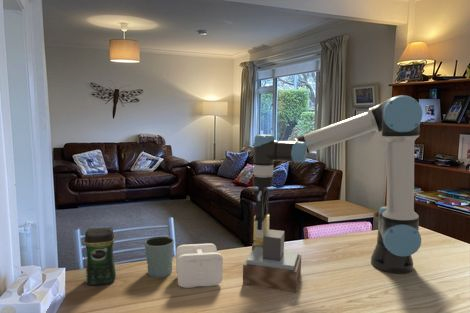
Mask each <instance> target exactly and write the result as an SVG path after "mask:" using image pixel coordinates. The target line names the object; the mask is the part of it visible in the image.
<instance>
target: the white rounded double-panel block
mask: <svg viewBox="0 0 470 313" xmlns="http://www.w3.org/2000/svg"><path fill="white" fill-rule="evenodd" d="M217 251H218V250H217V246H216V245H215V244H214V243H193V244H191V243H190V244H180V245H179V246H177V247H176V250H175V252H176V253H175V258H176V259H175V260H176V262H175V267H176V268H175V273H176V275H177V285H178V286H180V287H181V288H185V289H189V288H190V289H191V288H195V287H196V288H197V287H207V288H208V287H214V286H217V285H220V284H221V283H222V282H223V264H224V260H223V259H224V258H223V255H222V254H221V253H220V252H217Z"/></svg>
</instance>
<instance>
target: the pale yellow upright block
mask: <svg viewBox="0 0 470 313" xmlns="http://www.w3.org/2000/svg"><path fill="white" fill-rule="evenodd" d="M270 216H271V215H270V214H269V215H266V214H264V217H263V221H264V235H265V233H266V231H267V230H268V229H270ZM254 219H255V215H254V216H253V238H252V239H253V243H254V246H258V247H262V246H263V238H257V237H256V221H254ZM255 240H256V241H255Z"/></svg>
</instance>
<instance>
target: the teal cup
mask: <svg viewBox="0 0 470 313" xmlns="http://www.w3.org/2000/svg"><path fill="white" fill-rule="evenodd" d="M174 241H175V240H174V239H173V238H172V237H170V236H166V235H161V236H160V235H157V236H151V237H149V238H147V239H145V241H144V248H145V254H146V264H147V267H146V268H147V274H148V276H150V277H152V278H158V279H159V278H165V277H168V276H170V275H171V274H172V272H173V257H174V245H175V244H174Z"/></svg>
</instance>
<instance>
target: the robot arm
mask: <svg viewBox="0 0 470 313" xmlns="http://www.w3.org/2000/svg"><path fill="white" fill-rule="evenodd" d="M423 113H424V112H423V109H422V106H421V104H420V102H419V101H417V99H415V98H413V97H412V96H410V95H405V94H401V95H395V96H393V97H389V98H388V99H386V100H385V101H383V102H381V103H379V104H377V105H374V106H372V107H369V108H368V109H367V111H366V112H363V113H359V114H358V115H355V116H352V117H350V118H349V117H348V118H346V119H343V120H341V121H338V122H336V123H332V124H329V125H327V126H324V127H322V128H318V129H315V130H313V131H310V132H307V133H305V134H302V135H299V136H296V137H292V138H289V140H278V139H277V140H276V139H275V136H274V135H273V134H256V135H255V136H254V140H253V166H251V169H252V170H253V176H252V186H254V187H256V188H257V191H256V194H255V215H254V216H255V219H254V218H253V222H254V221H256V237H257V238H263V236H264V221H263V217H264V214H266V215H270V214H269V195H270V194H269V192H270V189H269V188H271V187H273V185H274V177H273V175H274V161H275V162H276V161H277V162H278V161H279V162H292V163H303V162H306V160H307V154H309V153H314V152H315V151H319V150H321V149H324V148H327V147H328V148H329V147H330V146H334V145H336V144H340V143H342V142H345V141H349V140H351V139H354V138H356V137H360V136H363V135H366V134H369V133H372V132H376V133H380V132H381V137H382V138H383V139H384V140H385V141H386V205H385V206H381V207H379V210H378V211H379V212H378V213H377V214H378V223H377V224H378V225H377V226H378V227H377V237H376V239H377V241H376V245H375V247H374V250H373V252H372V254H371V257H370V264H371V265H372V266H373V267H375V268H376V269H378V270H381V271H383V272H387V273H393V274H408V273H410V272H412V271H413V269H414V261H413V257H412V255H414V254H415V253H417V252H418V251H419V249H420V248H421V246H422V235H421V234H420V231H419V229H420V228H419V226H420V225H419V223H420V222H419V221H420V218H419V214H418V213H417V212H415V141H416V139H418V138H419V137H420V132H421V131H420V127H421V126H420V125H421V122H422V119H423Z"/></svg>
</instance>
